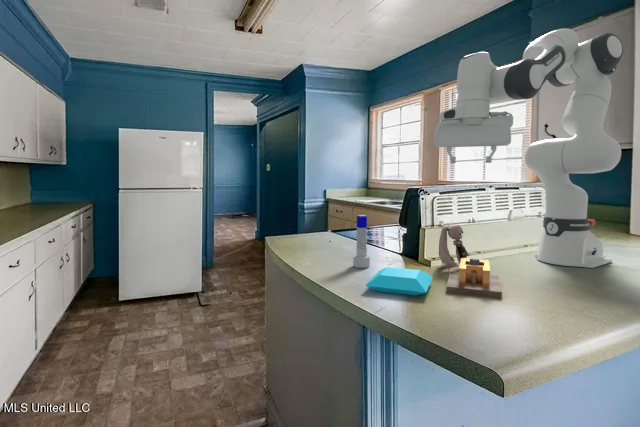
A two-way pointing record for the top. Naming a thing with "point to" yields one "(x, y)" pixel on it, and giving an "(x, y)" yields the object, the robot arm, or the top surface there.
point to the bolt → (361, 244)
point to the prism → (400, 281)
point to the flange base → (474, 284)
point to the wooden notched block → (481, 271)
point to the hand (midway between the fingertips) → (470, 162)
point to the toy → (455, 234)
